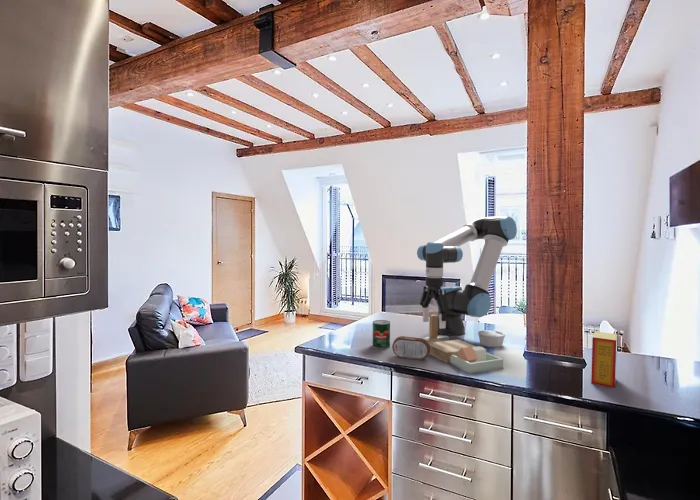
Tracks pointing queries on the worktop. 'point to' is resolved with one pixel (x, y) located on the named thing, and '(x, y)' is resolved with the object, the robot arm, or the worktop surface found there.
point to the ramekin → (491, 338)
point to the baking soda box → (604, 359)
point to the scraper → (434, 331)
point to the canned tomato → (381, 334)
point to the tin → (411, 347)
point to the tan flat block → (447, 349)
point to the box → (478, 364)
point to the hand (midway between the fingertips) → (433, 324)
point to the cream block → (480, 353)
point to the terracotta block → (467, 354)
